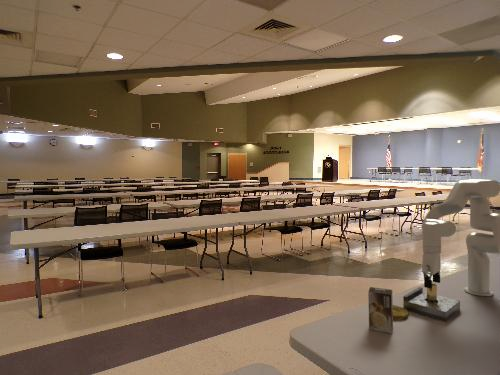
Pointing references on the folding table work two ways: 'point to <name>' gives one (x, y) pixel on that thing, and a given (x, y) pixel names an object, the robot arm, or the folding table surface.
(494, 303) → the folding table surface
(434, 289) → the brass cylinder
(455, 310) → the jig
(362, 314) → the folding table surface
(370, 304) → the coffee box
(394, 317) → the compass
